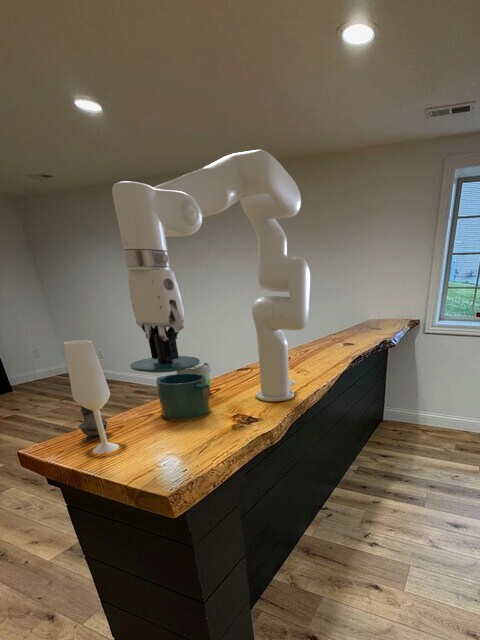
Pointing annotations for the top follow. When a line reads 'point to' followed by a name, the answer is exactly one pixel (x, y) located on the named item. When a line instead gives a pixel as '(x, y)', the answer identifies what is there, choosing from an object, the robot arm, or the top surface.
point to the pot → (183, 396)
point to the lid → (163, 361)
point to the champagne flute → (88, 384)
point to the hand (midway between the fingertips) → (165, 357)
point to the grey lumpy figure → (90, 424)
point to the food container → (201, 370)
